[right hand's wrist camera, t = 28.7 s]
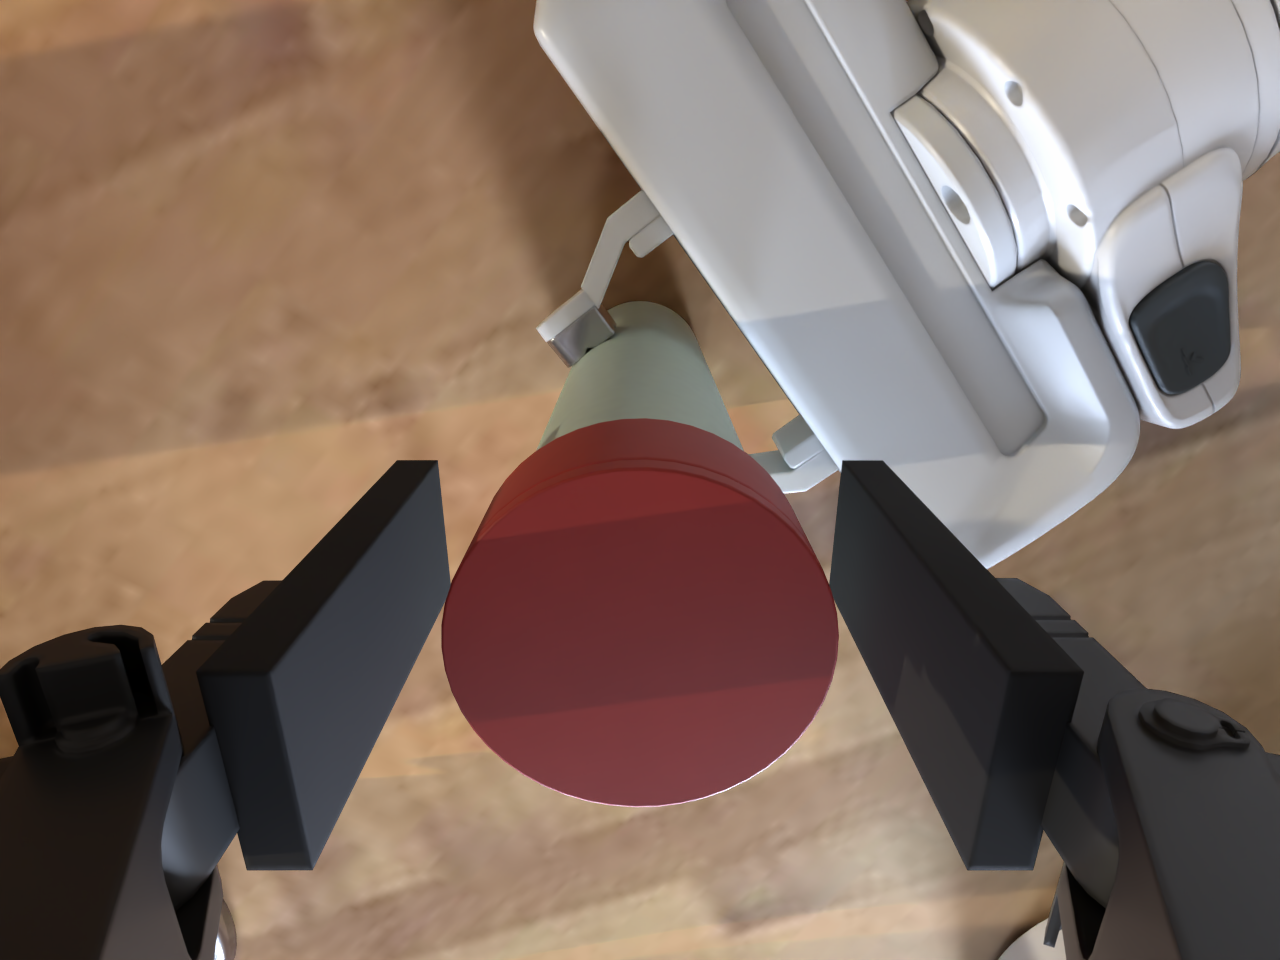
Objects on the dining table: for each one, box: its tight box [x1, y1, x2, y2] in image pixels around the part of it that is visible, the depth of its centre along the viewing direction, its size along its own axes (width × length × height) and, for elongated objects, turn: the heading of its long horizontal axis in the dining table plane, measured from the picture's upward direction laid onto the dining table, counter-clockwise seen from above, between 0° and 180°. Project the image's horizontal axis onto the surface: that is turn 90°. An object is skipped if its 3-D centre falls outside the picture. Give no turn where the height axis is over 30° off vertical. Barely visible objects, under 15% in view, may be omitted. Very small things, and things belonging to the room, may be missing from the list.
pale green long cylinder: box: [536, 301, 744, 451], centre depth 20 cm, size 5×5×19 cm
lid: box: [442, 418, 839, 807], centre depth 11 cm, size 5×5×2 cm
